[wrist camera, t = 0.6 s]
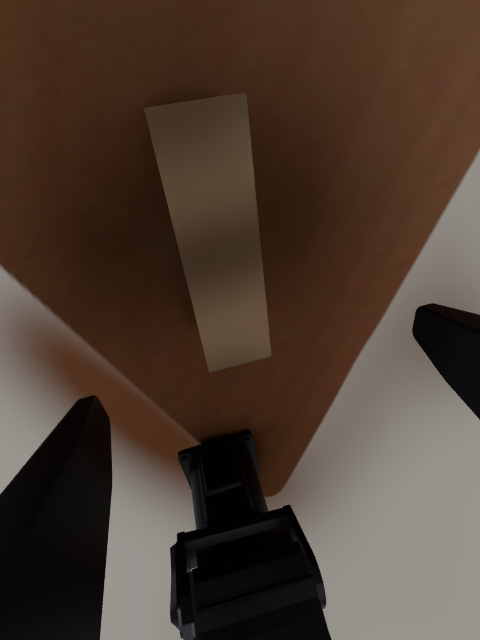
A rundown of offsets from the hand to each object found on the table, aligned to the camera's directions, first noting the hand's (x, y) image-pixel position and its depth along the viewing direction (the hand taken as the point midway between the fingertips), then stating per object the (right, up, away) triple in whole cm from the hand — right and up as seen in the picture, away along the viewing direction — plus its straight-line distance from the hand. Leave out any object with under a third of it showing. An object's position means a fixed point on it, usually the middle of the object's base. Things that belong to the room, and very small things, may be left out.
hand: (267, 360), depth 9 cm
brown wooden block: (-3, +6, +10) cm, 12 cm away
